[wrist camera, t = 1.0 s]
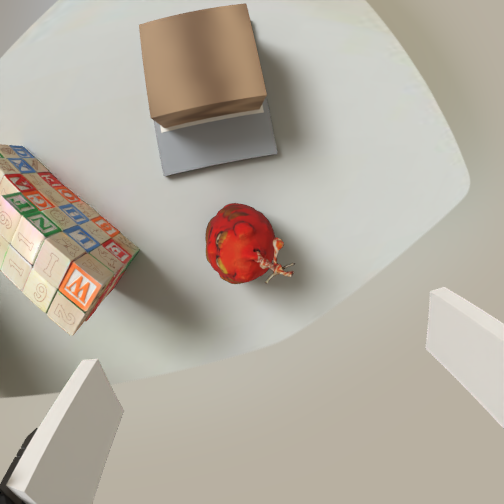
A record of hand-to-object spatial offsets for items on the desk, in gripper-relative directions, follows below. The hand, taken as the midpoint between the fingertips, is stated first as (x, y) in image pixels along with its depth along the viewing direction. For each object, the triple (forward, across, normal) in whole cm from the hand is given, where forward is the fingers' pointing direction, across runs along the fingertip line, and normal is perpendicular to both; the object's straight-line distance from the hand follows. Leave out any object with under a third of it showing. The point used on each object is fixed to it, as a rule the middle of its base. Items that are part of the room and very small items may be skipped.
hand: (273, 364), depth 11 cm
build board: (+24, -1, +16) cm, 29 cm away
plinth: (+23, -1, +18) cm, 29 cm away
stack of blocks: (+24, -21, +7) cm, 32 cm away
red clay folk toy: (+24, 0, 0) cm, 24 cm away
